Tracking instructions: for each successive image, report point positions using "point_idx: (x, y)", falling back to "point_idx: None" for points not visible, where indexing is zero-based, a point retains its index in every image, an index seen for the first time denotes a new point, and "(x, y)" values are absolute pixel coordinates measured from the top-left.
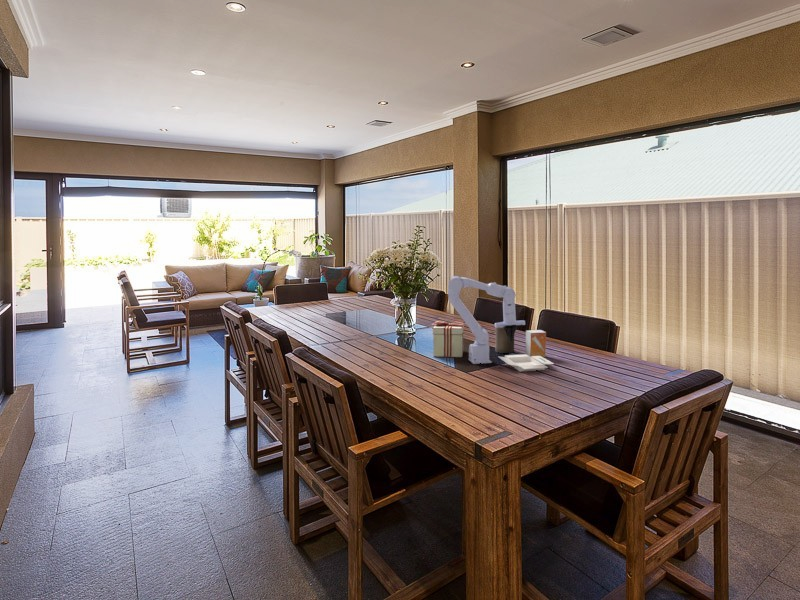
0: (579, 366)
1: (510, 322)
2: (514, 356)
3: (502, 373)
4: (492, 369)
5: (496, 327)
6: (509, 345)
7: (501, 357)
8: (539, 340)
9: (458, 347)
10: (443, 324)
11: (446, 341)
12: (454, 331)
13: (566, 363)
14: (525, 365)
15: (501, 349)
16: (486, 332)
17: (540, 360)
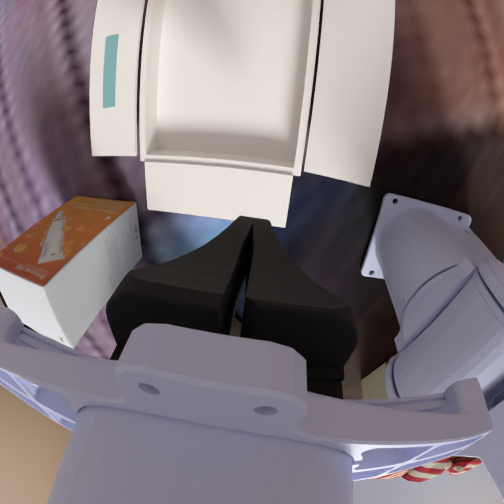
0: (24, 55)
1: (257, 456)
2: (234, 185)
3: (425, 8)
4: (443, 89)
5: (473, 380)
6: None
7: (357, 160)
8: (39, 242)
9: None
10: (468, 458)
11: None
12: None
13: (38, 96)
14: (223, 66)
15: (233, 332)
16: (472, 363)
17: (127, 55)
